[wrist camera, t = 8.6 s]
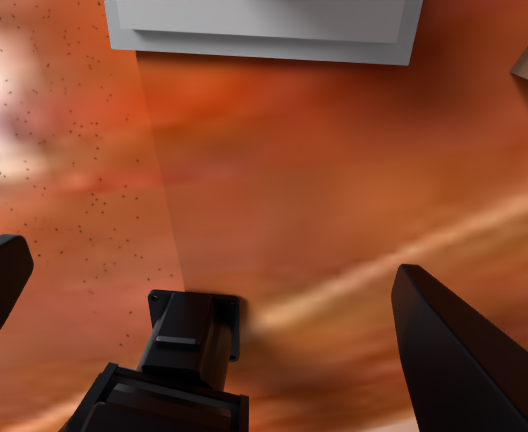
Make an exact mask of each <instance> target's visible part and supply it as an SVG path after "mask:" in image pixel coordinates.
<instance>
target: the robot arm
mask: <svg viewBox="0 0 528 432" xmlns="http://www.w3.org/2000/svg"><path fill="white" fill-rule="evenodd" d="M33 267H34V262H33V259H32V256H31V253H30V250H29V247H28V244H27V241H26V239H25V238H24V237H23V236H21V235H14V234H3V235H0V330H1V328H2V326H3V325H4V323H5V321H6V320H7V318H8V316H9V314H10V312H11V311H12V309H13V307H14V305H15V303H16V301H17V299H18V298H19V296H20V294H21V292H22V290H23V288H24V287H25V285H26V283H27V281H28V279H29V277H30V275H31V274H32V271H33ZM154 296H156V297H154ZM391 301H392V308H393V314H394V321H395V328H396V335H397V342H398V349H399V355H400V360H401V364H402V368H403V372H404V376H405V380H406V383H407V387H408V391H409V394H410V398H411V402H412V405H413V409H414V413H415V417H416V420H417V424H418V428H419V431H420V432H528V351H527V350H526V349H524V348H523V347H522V346H520V345H519V344H518V343H517V342H515V341H514V340H513V339H512V338H510V337H509V336H508V335H507V334H505V333H504V332H503V331H502V330H500V329H499V328H498V327H496V326H495V325H494V324H493V323H491V322H490V321H489V320H488V319H486V318H485V317H484V316H483V315H481V314H480V313H479V312H477V311H476V310H475V309H474V308H472V307H471V306H470V305H469V304H467V303H466V302H465V301H464V300H462V299H461V298H460V297H459V296H457V295H456V294H455V293H453V292H452V291H451V290H450V289H448V288H447V287H446V286H445V285H443V284H442V283H441V282H440V281H438V280H437V279H436V278H435V277H433V276H432V275H431V274H429V273H428V272H427V271H426V270H424V269H423V268H422V267H420V266H419V265H412V264H401V265H400V266H399V268H398V271H397V274H396V278H395V281H394V285H393V288H392V293H391ZM148 303H149V309H150V316H151V322H152V328H153V331H152V333H151V336H150V338H149V340H148V343H147V345H146V348H145V350H144V352H143V355H142V357H141V359H140V362H139V364H138V367H137V369H136V370H133V369H129V368H125V367H121V366H118V364H115V363H111V362H109V363H108V365H107V366H106V368H105V370H104V371H103V373H100V374H99V375H98V377H97V378H96V380H95V381H94V383H93V385H92V386H91V388H90V389H89V391H88V392H87V394H86V395H85V397H84V398H83V400H82V402H81V403H80V405H79V406H78V408H77V409H76V411H75V412H74V414H73V415H72V417H71V418H70V419H69V420H68V421H67V422H66V423H65V424H64V426H63V427H62V428H61V429H60V430H59V431H58V432H249V396H246V395H242V394H240V396H239V395H235V394H231V393H227V392H223V391H224V385H225V380H226V374H227V369H228V363H229V361H230V362H235V361H237V360H238V359H239V354H240V299H239V298H238V297H236V296H228V295H216V294H204V293H192V292H180V291H167V290H152V291H150V293H149V295H148ZM232 303H235V304H232Z"/></svg>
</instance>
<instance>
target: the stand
mask: <svg viewBox="0 0 528 432" xmlns="http://www.w3.org/2000/svg"><path fill="white" fill-rule="evenodd" d="M104 3H105V10H106V16H107V23H108V30H109V36H110V43H111V49H122V50H140V51H158V52H175V53H193V54H211V55H229V56H247V57H264V58H282V59H300V60H318V61H335V62H353V63H371V64H389V65H406V66H408V65H409V61H410V56H411V52H412V48H413V43H414V39H415V34H416V30H417V25H418V21H419V16H420V12H421V8H422V3H423V0H104Z"/></svg>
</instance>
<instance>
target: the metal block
mask: <svg viewBox="0 0 528 432" xmlns="http://www.w3.org/2000/svg"><path fill="white" fill-rule="evenodd" d="M510 72H511V73H513V74H515V75H517V76H519V77H522V78H524V79H526V80H528V47H527V48H526V50H525V51H524V53H523V54H522V55H521V57H520V58H519V60H518V61H517V63H516V64H515V65H514V67H513V68H512V70H511V71H510Z"/></svg>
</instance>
